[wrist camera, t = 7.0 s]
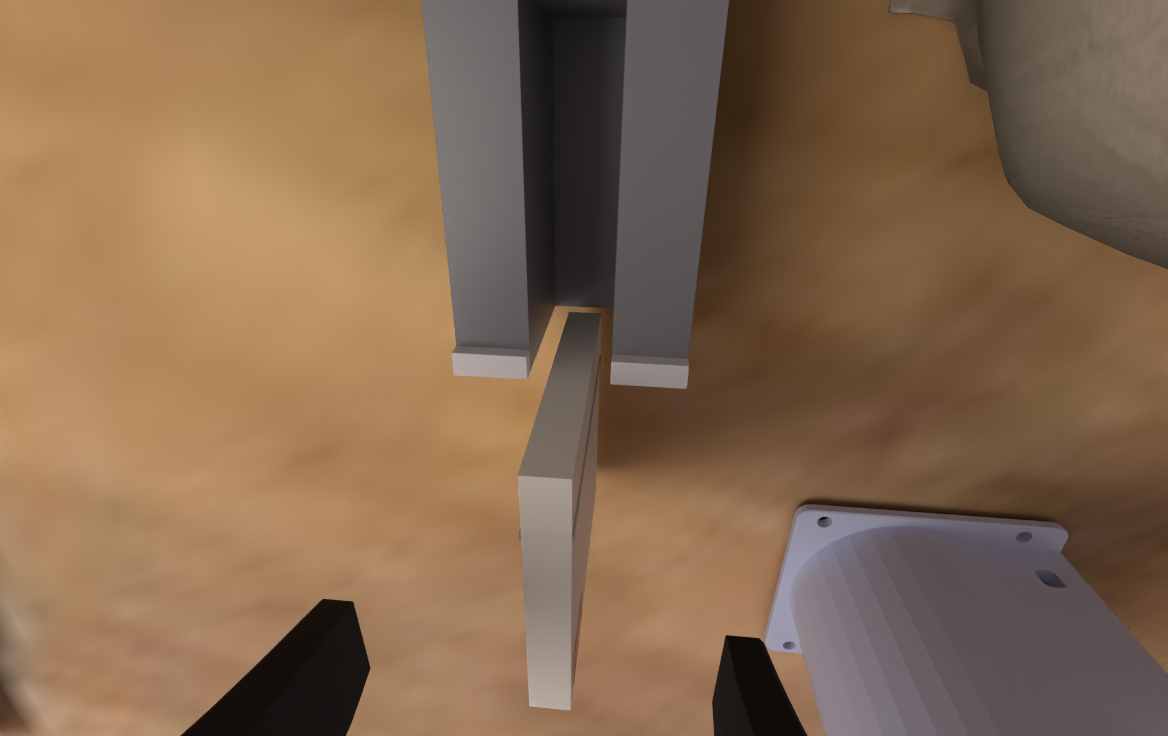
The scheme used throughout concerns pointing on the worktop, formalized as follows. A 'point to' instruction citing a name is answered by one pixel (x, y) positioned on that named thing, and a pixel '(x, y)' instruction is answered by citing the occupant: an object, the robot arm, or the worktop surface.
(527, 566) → the beige flat plate
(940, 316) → the worktop surface
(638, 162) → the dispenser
